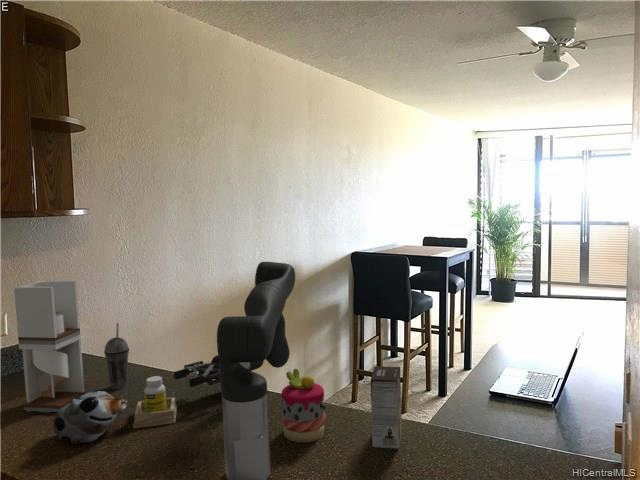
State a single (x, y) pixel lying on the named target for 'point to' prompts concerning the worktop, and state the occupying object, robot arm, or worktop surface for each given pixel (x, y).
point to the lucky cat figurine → (87, 417)
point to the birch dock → (155, 415)
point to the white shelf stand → (50, 344)
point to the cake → (303, 409)
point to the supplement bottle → (155, 395)
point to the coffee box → (386, 407)
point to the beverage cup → (117, 361)
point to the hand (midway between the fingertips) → (181, 379)
